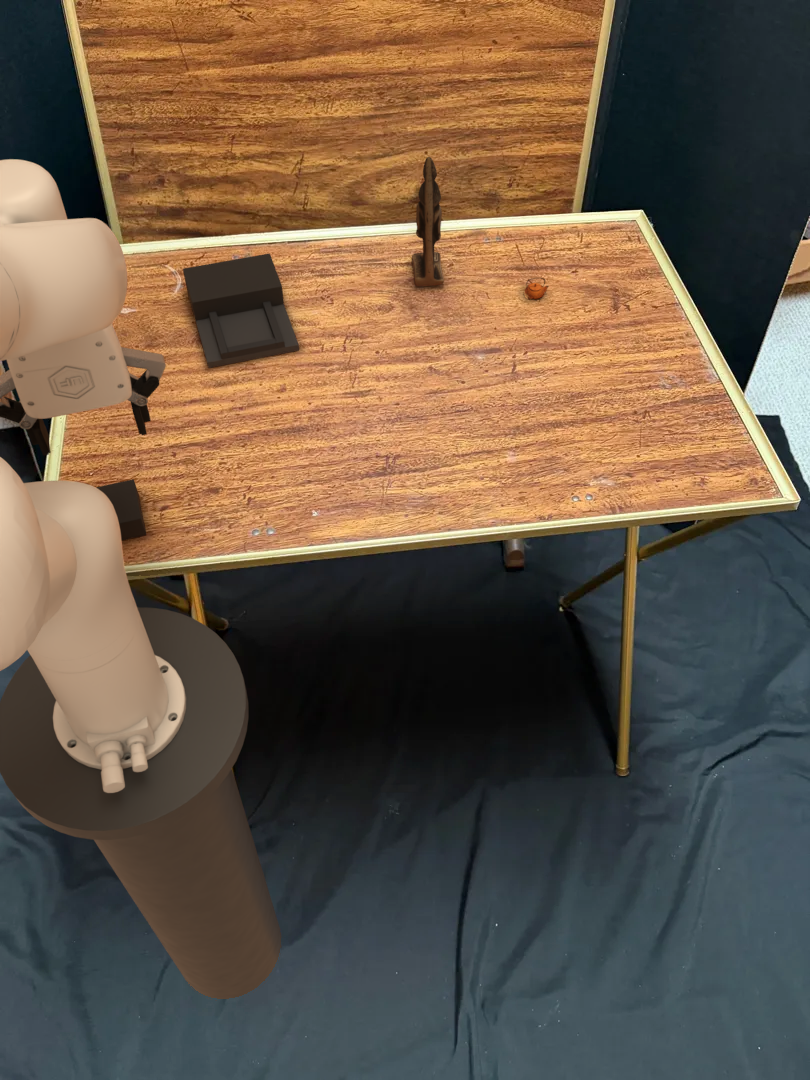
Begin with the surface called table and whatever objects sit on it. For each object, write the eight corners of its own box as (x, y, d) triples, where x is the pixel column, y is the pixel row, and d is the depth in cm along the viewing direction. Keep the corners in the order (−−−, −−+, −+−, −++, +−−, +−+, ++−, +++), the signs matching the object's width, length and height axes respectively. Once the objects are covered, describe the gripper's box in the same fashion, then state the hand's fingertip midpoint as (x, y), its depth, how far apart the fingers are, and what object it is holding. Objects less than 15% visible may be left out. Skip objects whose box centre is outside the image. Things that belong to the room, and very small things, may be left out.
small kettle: (529, 285, 136) (531, 269, 134) (548, 292, 135) (551, 276, 133) (520, 296, 135) (522, 280, 133) (539, 303, 134) (541, 287, 132)
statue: (439, 260, 139) (446, 128, 124) (445, 291, 135) (452, 159, 119) (410, 261, 139) (413, 129, 123) (415, 292, 135) (418, 160, 119)
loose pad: (146, 535, 108) (141, 518, 106) (101, 545, 107) (94, 528, 105) (139, 495, 112) (133, 478, 109) (95, 505, 111) (88, 488, 108)
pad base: (299, 350, 127) (297, 326, 124) (208, 368, 125) (203, 344, 122) (272, 277, 137) (269, 253, 133) (187, 292, 134) (182, 268, 131)
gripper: (-54, 349, 82) (9, 480, 96) (152, 312, 85) (184, 443, 99) (-57, 293, 86) (4, 426, 100) (140, 260, 89) (173, 393, 103)
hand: (94, 435), depth 99 cm, fingers open, 9 cm apart
